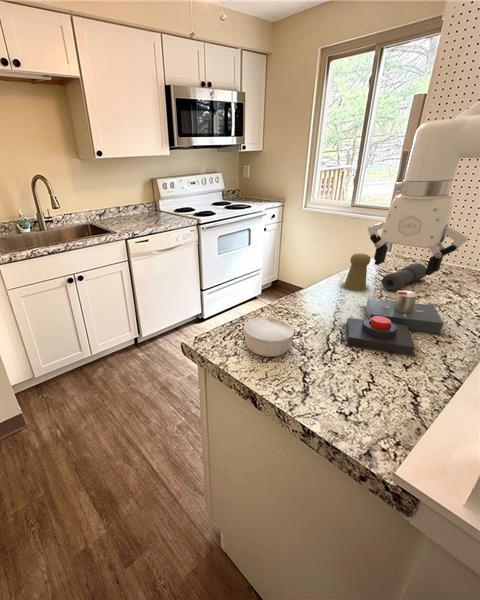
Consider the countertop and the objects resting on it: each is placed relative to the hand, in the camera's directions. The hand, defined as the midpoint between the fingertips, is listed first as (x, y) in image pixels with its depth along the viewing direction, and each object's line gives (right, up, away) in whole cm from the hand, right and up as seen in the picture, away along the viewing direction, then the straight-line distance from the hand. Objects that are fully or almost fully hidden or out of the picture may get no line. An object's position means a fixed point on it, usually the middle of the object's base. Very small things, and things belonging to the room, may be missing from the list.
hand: (403, 268), depth 70 cm
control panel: (+8, -12, +11) cm, 18 cm away
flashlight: (+24, -2, +29) cm, 38 cm away
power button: (-3, -13, +3) cm, 14 cm away
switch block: (-3, -17, +4) cm, 17 cm away
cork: (+10, -3, +30) cm, 32 cm away
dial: (+8, -10, +9) cm, 16 cm away
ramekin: (-29, -19, +6) cm, 35 cm away
